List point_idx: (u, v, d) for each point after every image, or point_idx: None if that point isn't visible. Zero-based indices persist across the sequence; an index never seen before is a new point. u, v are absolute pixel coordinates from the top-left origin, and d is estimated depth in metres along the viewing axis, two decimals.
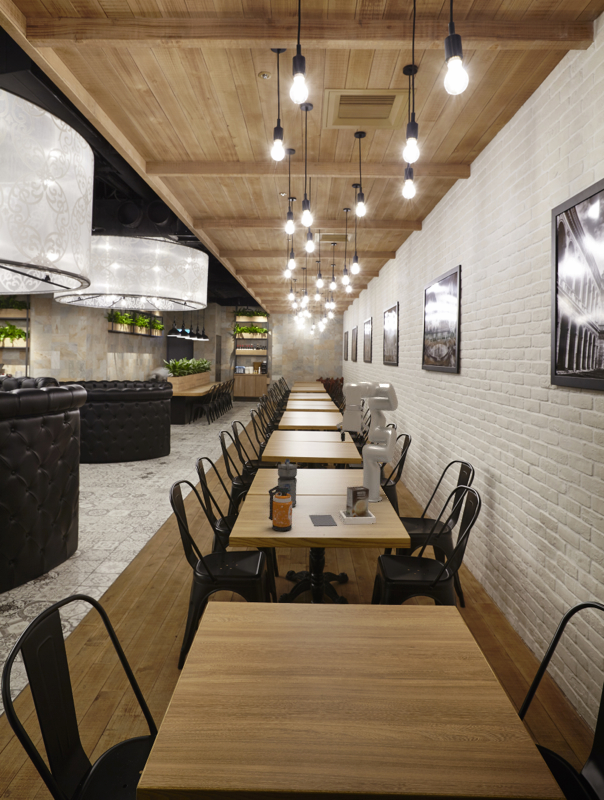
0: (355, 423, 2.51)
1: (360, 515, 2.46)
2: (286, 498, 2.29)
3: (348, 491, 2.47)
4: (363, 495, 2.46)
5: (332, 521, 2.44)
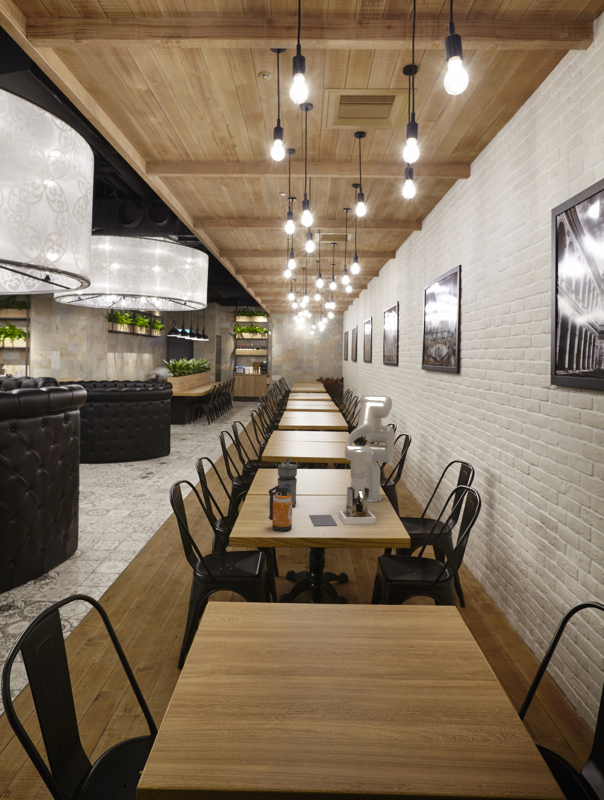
0: None
1: (360, 515, 2.46)
2: (286, 498, 2.29)
3: (348, 491, 2.47)
4: None
5: (332, 521, 2.44)
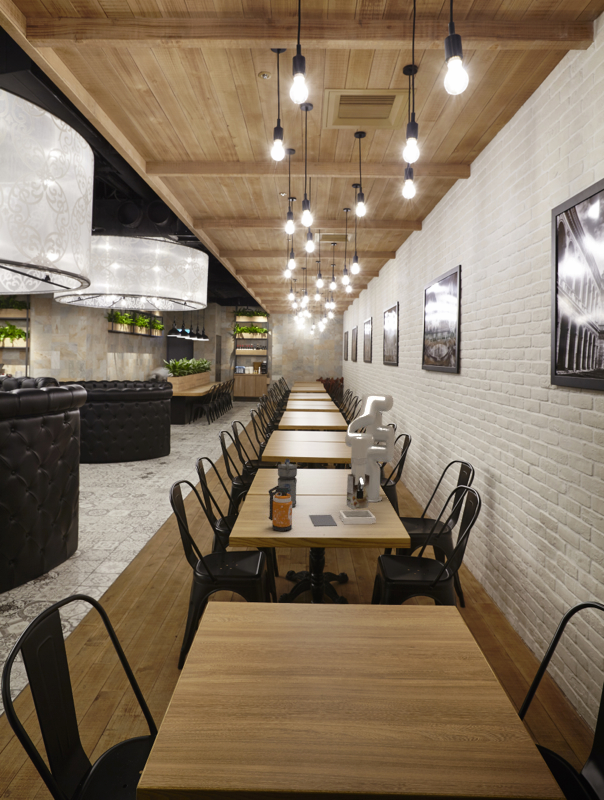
0: None
1: (361, 502, 2.46)
2: (286, 498, 2.29)
3: (349, 478, 2.47)
4: None
5: (332, 521, 2.44)
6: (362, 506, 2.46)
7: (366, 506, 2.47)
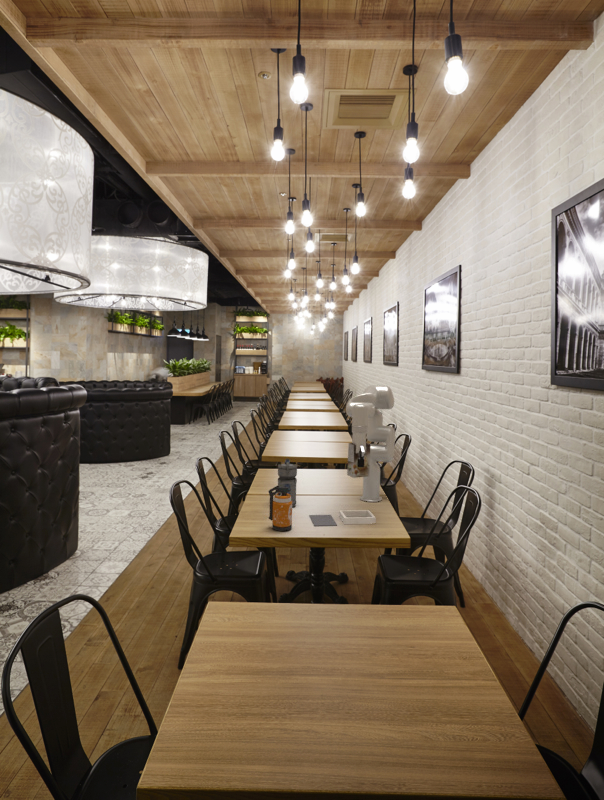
0: None
1: (361, 470, 2.44)
2: (286, 498, 2.29)
3: (349, 447, 2.46)
4: (365, 451, 2.44)
5: (332, 521, 2.44)
6: (363, 475, 2.45)
7: (367, 475, 2.46)
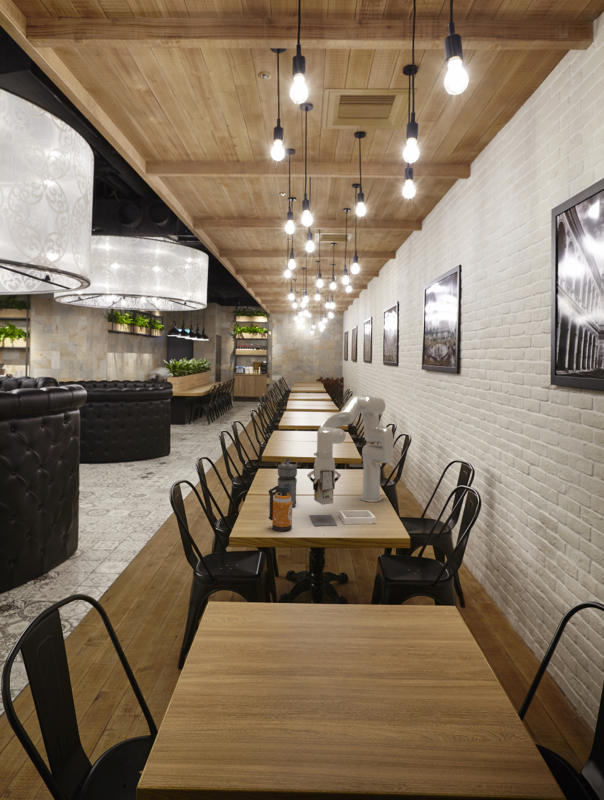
0: None
1: None
2: (286, 498, 2.29)
3: (325, 475, 2.40)
4: None
5: (332, 521, 2.44)
6: None
7: None
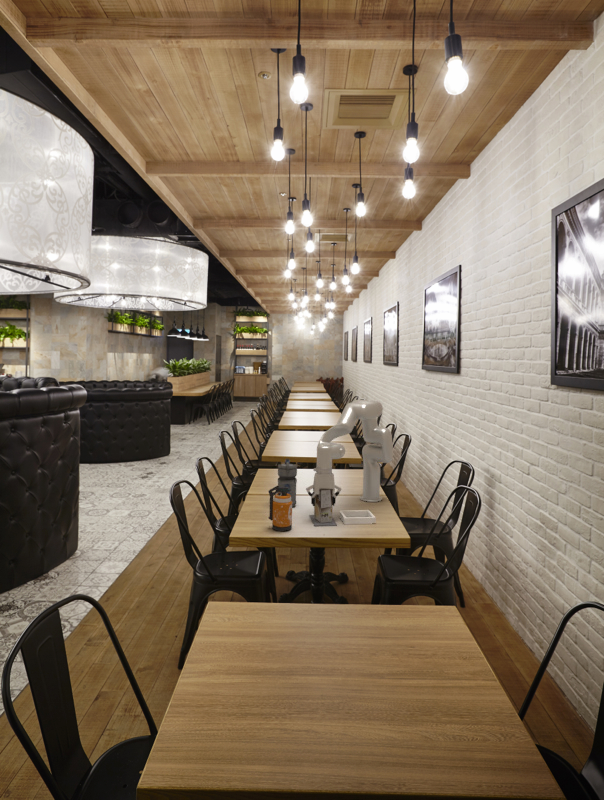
0: None
1: None
2: (286, 498, 2.29)
3: (323, 493, 2.41)
4: None
5: (332, 521, 2.44)
6: None
7: None
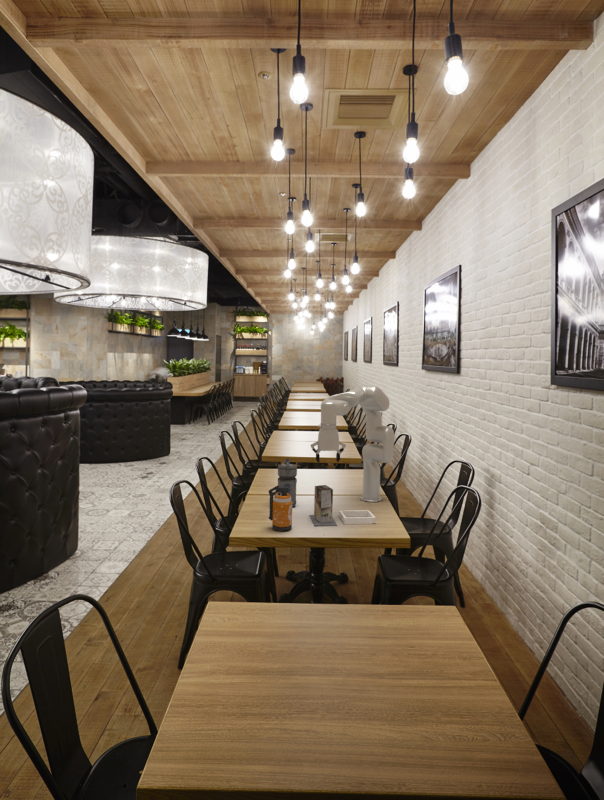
0: None
1: None
2: (286, 498, 2.29)
3: (324, 493, 2.41)
4: None
5: (332, 521, 2.44)
6: None
7: None
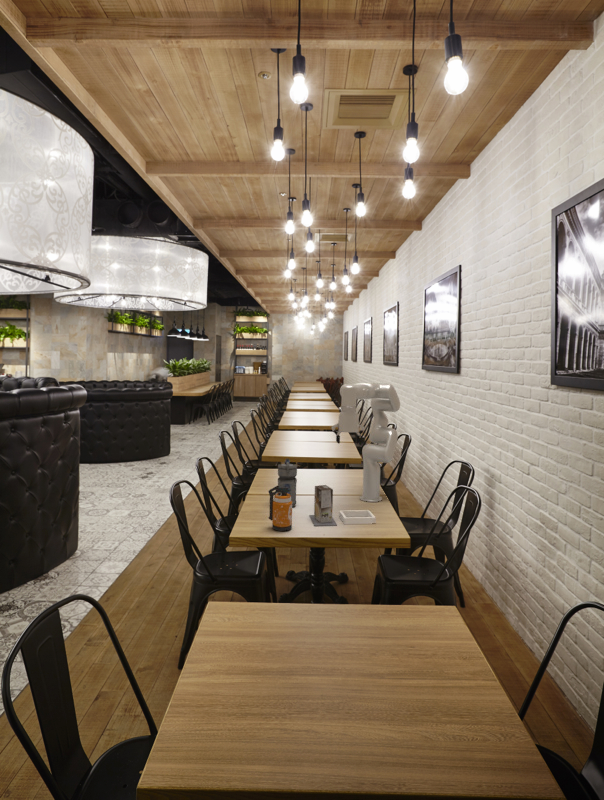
0: None
1: None
2: (286, 498, 2.29)
3: (324, 493, 2.41)
4: None
5: (332, 521, 2.44)
6: None
7: None
